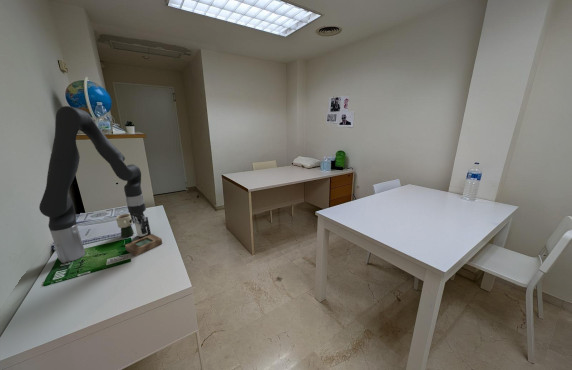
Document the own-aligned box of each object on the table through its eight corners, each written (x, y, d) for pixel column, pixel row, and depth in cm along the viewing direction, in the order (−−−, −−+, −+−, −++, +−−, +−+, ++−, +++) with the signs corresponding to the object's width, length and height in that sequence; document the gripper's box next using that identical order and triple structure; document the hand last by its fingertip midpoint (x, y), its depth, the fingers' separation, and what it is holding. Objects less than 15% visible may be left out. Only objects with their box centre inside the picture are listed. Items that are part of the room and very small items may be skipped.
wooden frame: (135, 256, 108) (134, 250, 108) (126, 250, 113) (124, 245, 112) (162, 243, 120) (161, 238, 119) (152, 238, 125) (152, 233, 124)
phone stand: (138, 234, 129) (134, 217, 126) (150, 231, 133) (146, 214, 129) (139, 241, 122) (135, 222, 119) (151, 237, 126) (148, 219, 123)
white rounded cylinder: (140, 237, 112) (137, 222, 109) (135, 234, 114) (132, 220, 112) (149, 233, 116) (146, 219, 113) (145, 231, 118) (142, 217, 115)
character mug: (135, 237, 126) (131, 217, 123) (120, 241, 122) (115, 220, 119) (134, 230, 135) (130, 211, 131) (120, 233, 130) (115, 214, 127)
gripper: (121, 202, 110) (128, 231, 115) (134, 208, 103) (141, 238, 108) (136, 198, 116) (142, 226, 121) (150, 203, 109) (156, 232, 114)
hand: (142, 232), depth 114 cm, fingers closed on white rounded cylinder, 4 cm apart
